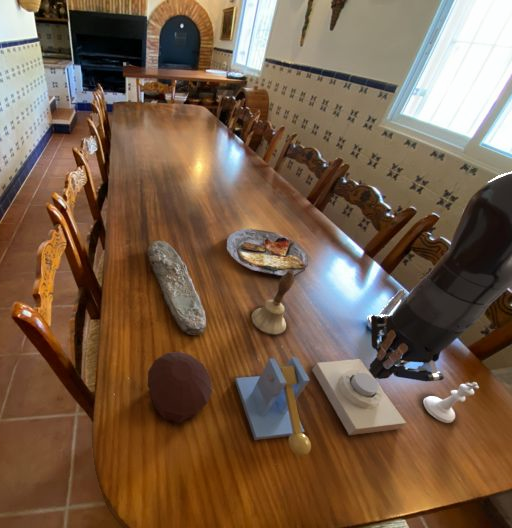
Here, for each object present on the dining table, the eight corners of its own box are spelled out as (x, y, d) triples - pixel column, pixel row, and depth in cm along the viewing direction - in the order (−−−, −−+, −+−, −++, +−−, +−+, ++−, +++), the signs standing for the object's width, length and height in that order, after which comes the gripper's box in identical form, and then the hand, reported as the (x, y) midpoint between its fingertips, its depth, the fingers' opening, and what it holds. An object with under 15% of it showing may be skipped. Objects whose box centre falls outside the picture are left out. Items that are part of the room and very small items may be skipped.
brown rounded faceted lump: (137, 382, 58) (138, 352, 52) (186, 363, 62) (193, 333, 56) (162, 443, 50) (166, 416, 44) (217, 417, 54) (228, 389, 48)
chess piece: (457, 426, 55) (500, 401, 49) (428, 417, 57) (465, 391, 50) (447, 402, 59) (485, 375, 53) (419, 393, 60) (453, 366, 54)
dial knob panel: (397, 429, 54) (412, 418, 52) (349, 435, 53) (361, 424, 50) (353, 366, 64) (364, 354, 62) (311, 369, 63) (320, 357, 60)
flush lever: (305, 451, 47) (318, 457, 44) (286, 454, 47) (298, 459, 44) (287, 365, 51) (297, 365, 48) (270, 367, 51) (279, 366, 48)
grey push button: (378, 396, 55) (383, 391, 54) (359, 398, 54) (363, 393, 53) (364, 376, 58) (368, 371, 57) (345, 377, 57) (350, 373, 56)
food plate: (299, 241, 102) (302, 232, 99) (313, 287, 84) (318, 277, 81) (226, 230, 104) (228, 221, 102) (224, 271, 86) (226, 262, 84)
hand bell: (254, 304, 77) (273, 255, 67) (287, 315, 74) (312, 267, 64) (248, 326, 71) (267, 277, 61) (283, 340, 69) (309, 290, 58)
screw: (389, 333, 72) (374, 337, 71) (372, 318, 76) (358, 322, 74) (422, 295, 64) (406, 299, 63) (401, 280, 67) (386, 284, 66)
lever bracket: (302, 434, 53) (333, 399, 45) (254, 440, 51) (277, 405, 43) (276, 377, 61) (298, 339, 53) (234, 381, 60) (250, 342, 52)
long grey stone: (174, 344, 67) (214, 337, 70) (178, 330, 64) (219, 324, 67) (140, 248, 92) (170, 245, 94) (142, 234, 88) (173, 232, 91)
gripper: (382, 278, 47) (335, 344, 58) (456, 349, 37) (382, 413, 48) (423, 277, 48) (370, 342, 59) (507, 345, 38) (423, 409, 49)
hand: (376, 374), depth 53 cm, fingers closed
